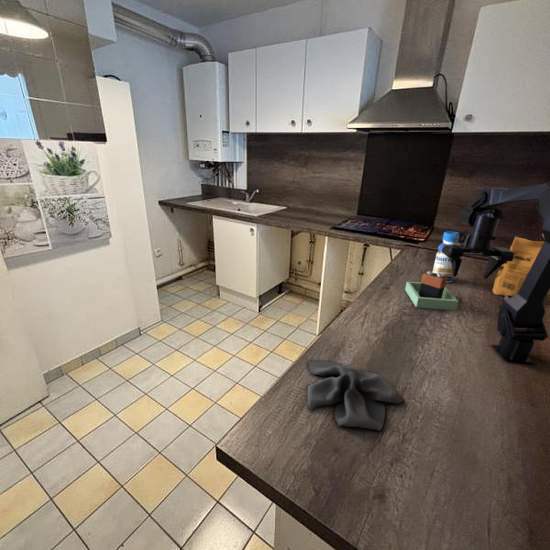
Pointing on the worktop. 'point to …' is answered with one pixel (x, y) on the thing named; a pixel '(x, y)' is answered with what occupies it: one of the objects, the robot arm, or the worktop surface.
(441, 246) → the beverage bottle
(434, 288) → the battery
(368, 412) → the cloth
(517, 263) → the coffee package
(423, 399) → the worktop surface
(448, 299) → the tray
